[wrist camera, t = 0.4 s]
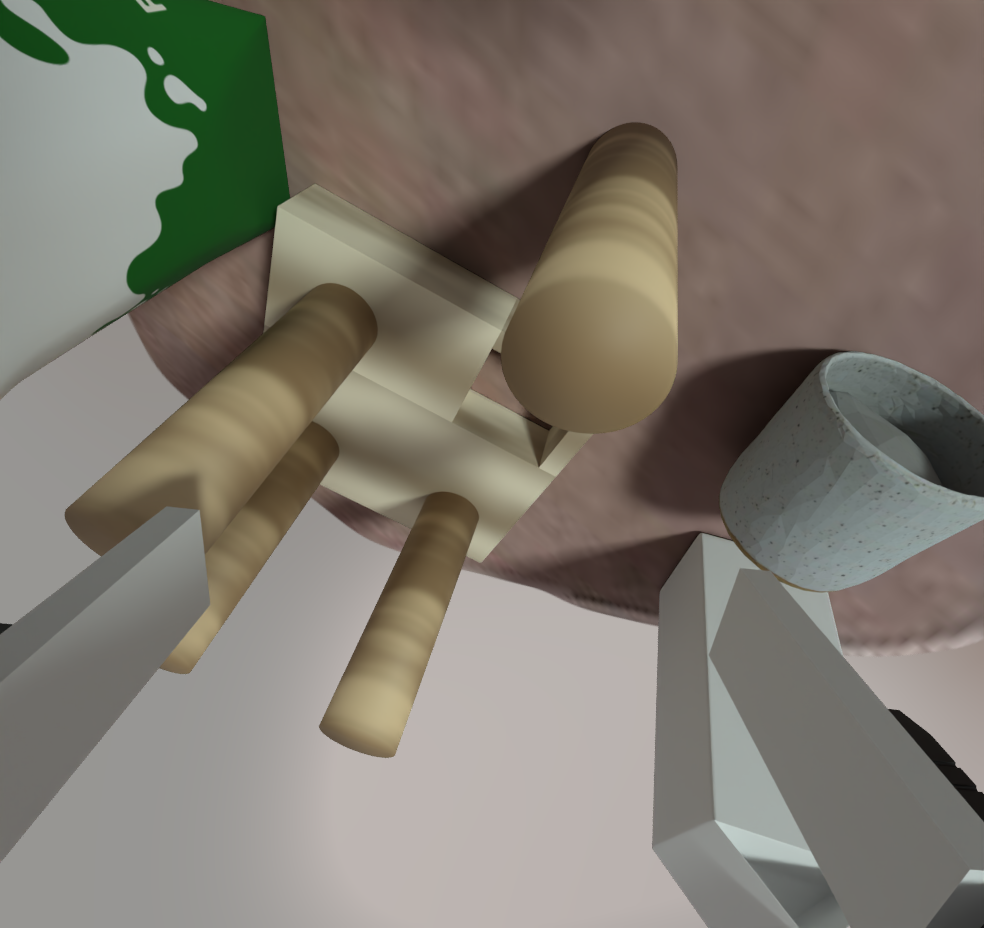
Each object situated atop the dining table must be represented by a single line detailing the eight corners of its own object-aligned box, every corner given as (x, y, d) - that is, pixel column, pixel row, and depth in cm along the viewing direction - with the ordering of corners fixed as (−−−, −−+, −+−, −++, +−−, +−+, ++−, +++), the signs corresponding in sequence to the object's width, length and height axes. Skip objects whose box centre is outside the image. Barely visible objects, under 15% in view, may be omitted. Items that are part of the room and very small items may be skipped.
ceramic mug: (702, 459, 27) (712, 582, 22) (802, 327, 21) (849, 451, 16) (895, 522, 27) (952, 661, 22) (1049, 407, 21) (1179, 558, 16)
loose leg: (616, 102, 18) (552, 245, 9) (698, 154, 18) (718, 343, 9) (566, 196, 20) (475, 384, 11) (639, 240, 20) (610, 457, 11)
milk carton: (658, 590, 36) (647, 957, 22) (700, 528, 31) (718, 956, 17) (761, 620, 35) (812, 1015, 22) (822, 562, 30) (936, 1032, 17)
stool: (314, 183, 22) (-47, 402, 11) (628, 361, 24) (587, 696, 13) (276, 420, 34) (78, 645, 22) (492, 528, 36) (408, 783, 24)
